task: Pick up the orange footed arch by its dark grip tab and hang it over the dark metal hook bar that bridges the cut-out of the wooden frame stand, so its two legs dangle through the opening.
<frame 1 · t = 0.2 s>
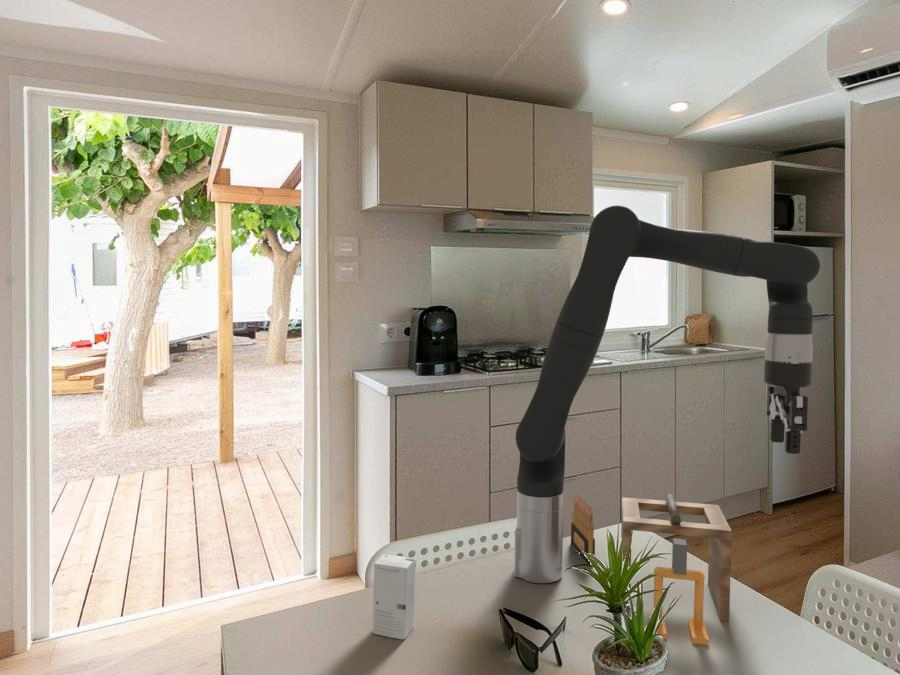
hand: (784, 447, 112), 29 cm above the table, tool pointing down, fingers open, 8 cm apart
skincare box: (394, 632, 103), on the table
orange footed arch: (677, 632, 103), on the table
wooden frame stand: (670, 596, 116), on the table
ammunition clip: (582, 554, 136), on the table
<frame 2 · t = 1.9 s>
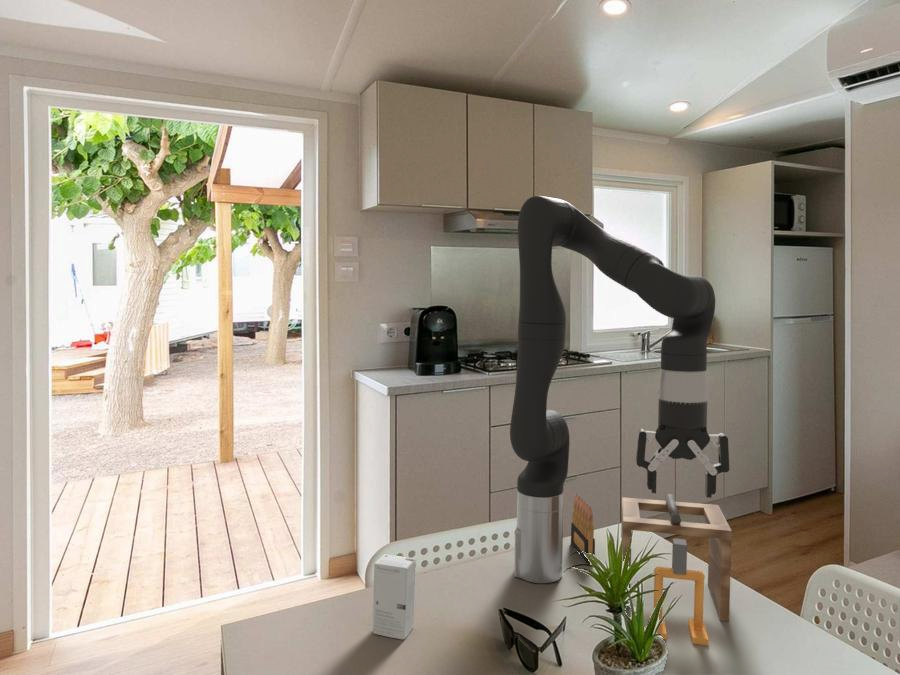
hand: (680, 494, 102), 23 cm above the table, tool pointing down, fingers open, 8 cm apart
nothing on the table moved.
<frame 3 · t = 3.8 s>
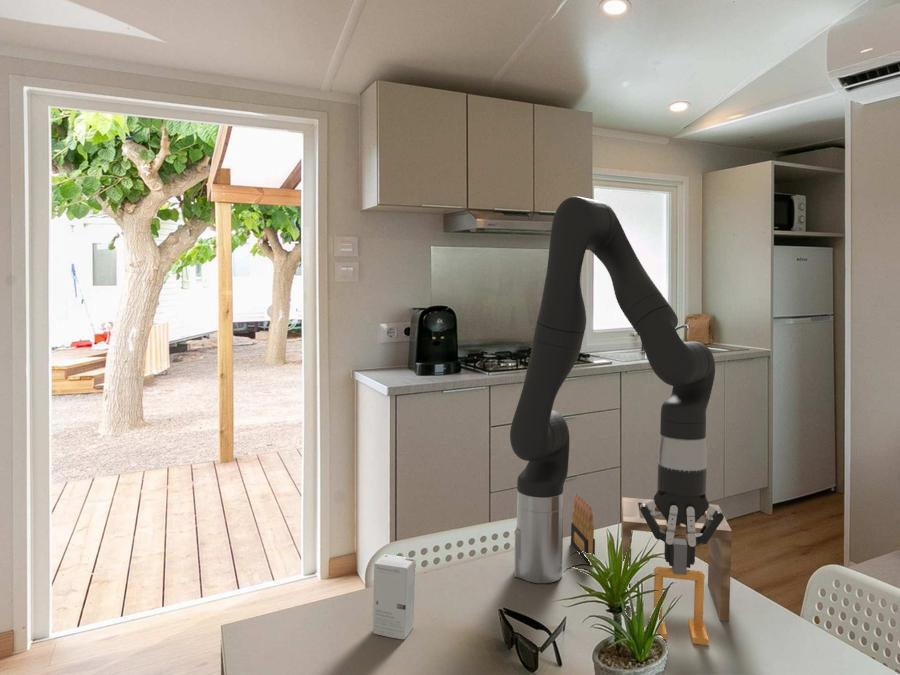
hand: (679, 564, 103), 12 cm above the table, tool pointing down, fingers closed on orange footed arch
orange footed arch: (677, 632, 103), on the table, touching gripper
everything else where it was.
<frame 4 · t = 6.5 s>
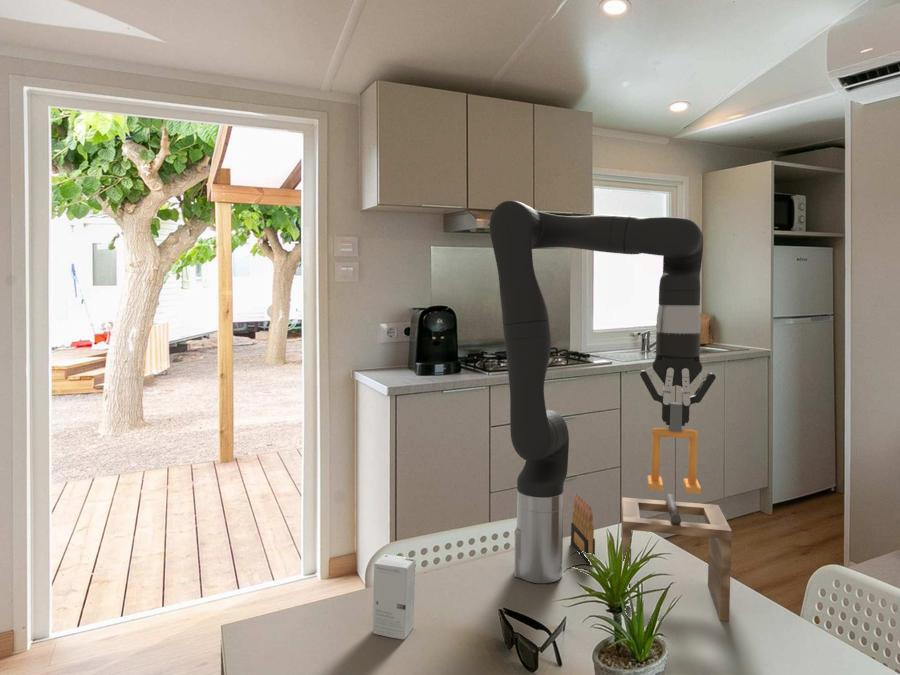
hand: (675, 424, 113), 33 cm above the table, tool pointing down, fingers closed on orange footed arch
orange footed arch: (673, 486, 113), point 21 cm above the table, touching gripper
everything else where it was.
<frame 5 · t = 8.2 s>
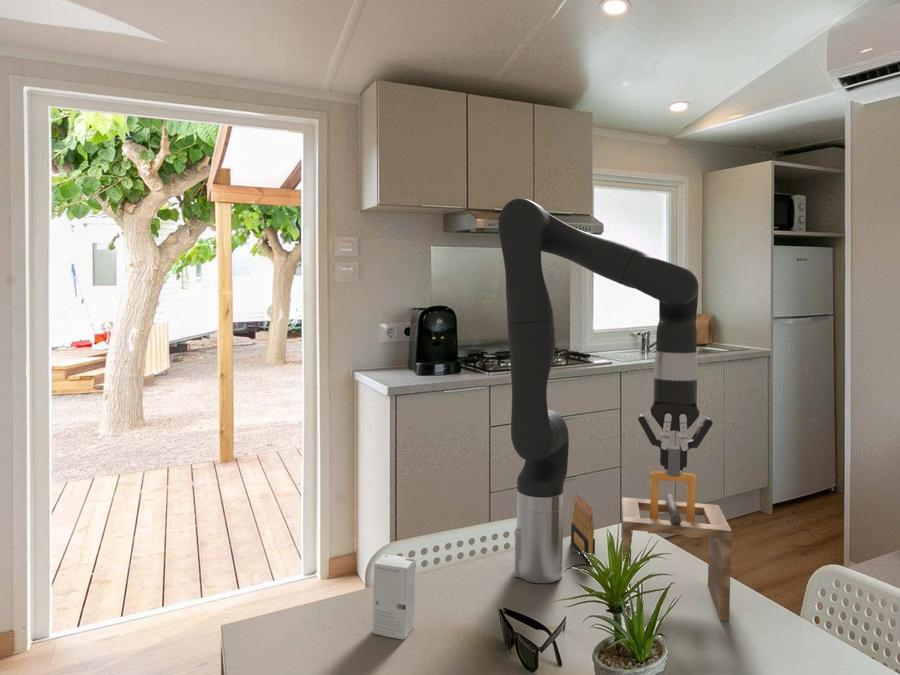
hand: (673, 468, 114), 24 cm above the table, tool pointing down, fingers closed on orange footed arch
orange footed arch: (671, 529, 115), point 13 cm above the table, touching gripper
everything else where it was.
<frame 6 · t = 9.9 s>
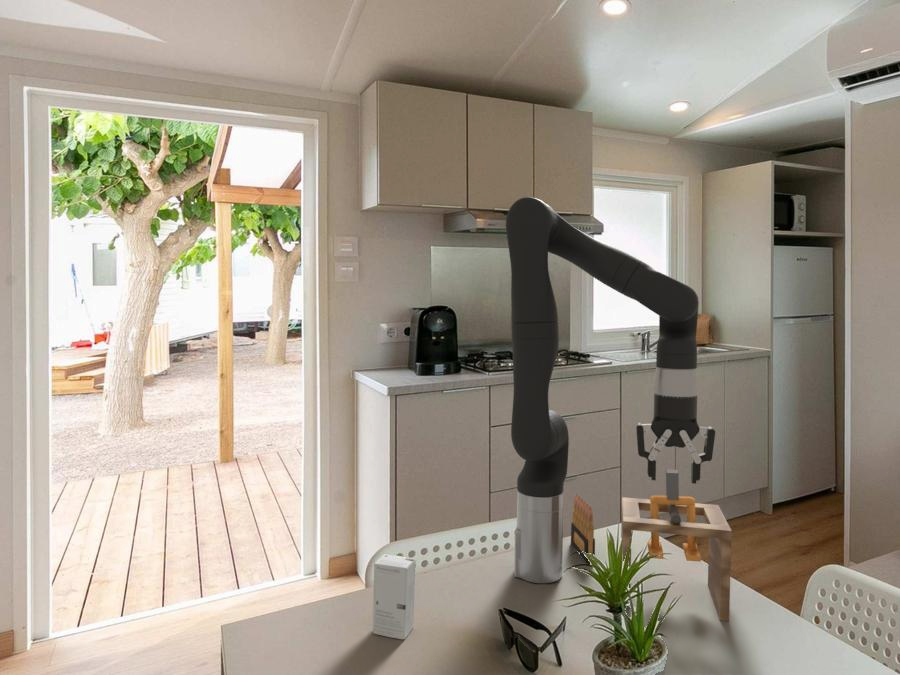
hand: (673, 480, 114), 22 cm above the table, tool pointing down, fingers open, 6 cm apart
orange footed arch: (673, 553, 115), point 8 cm above the table, touching wooden frame stand
everything else where it was.
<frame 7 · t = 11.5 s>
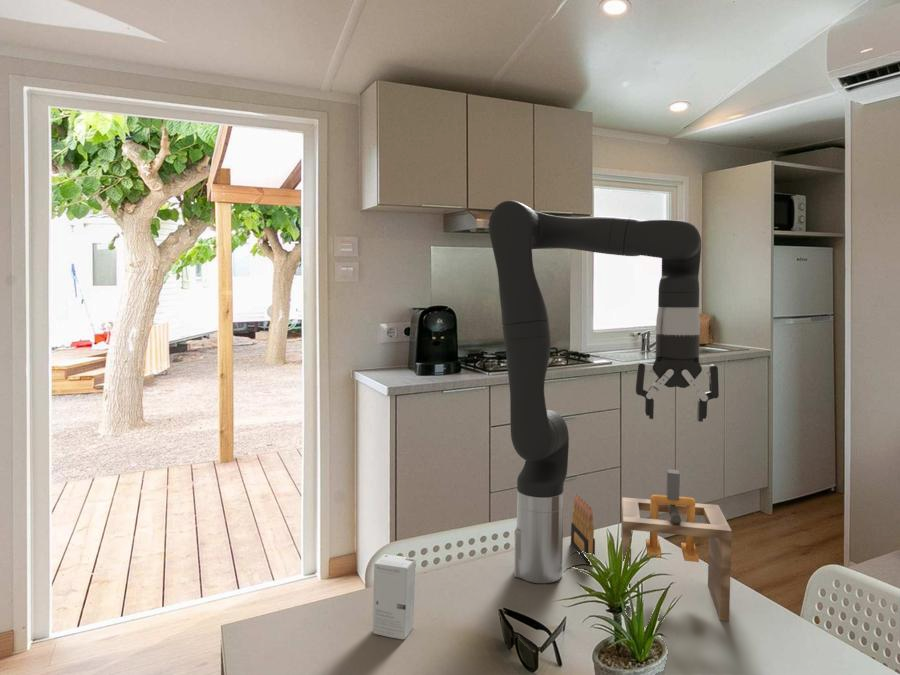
hand: (675, 419, 114), 34 cm above the table, tool pointing down, fingers open, 8 cm apart
nothing on the table moved.
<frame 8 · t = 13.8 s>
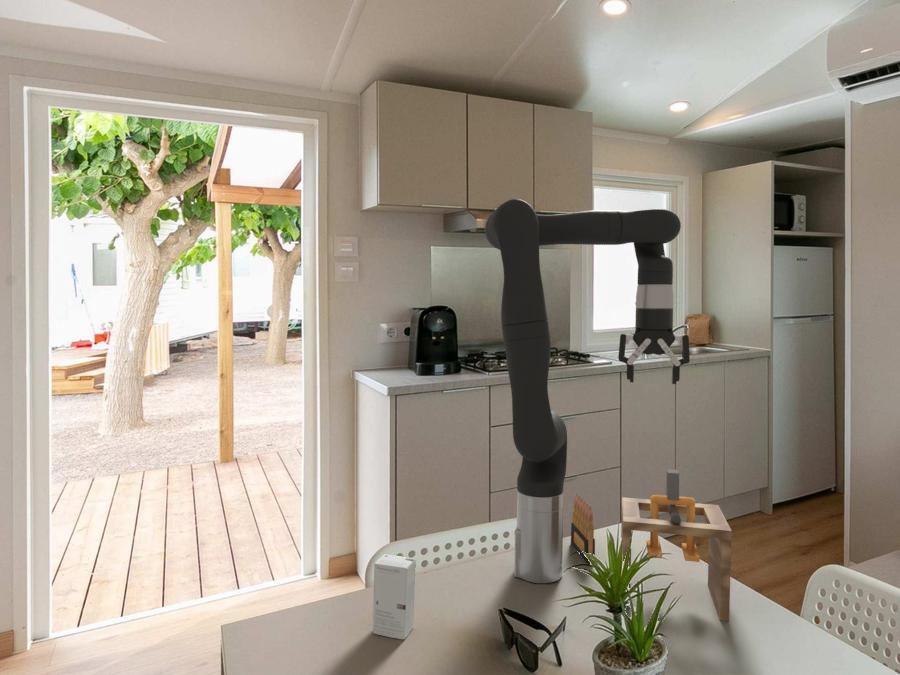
hand: (652, 382, 131), 38 cm above the table, tool pointing down, fingers open, 8 cm apart
nothing on the table moved.
at the end: orange footed arch 0.2 cm off-centre on the wooden frame stand, point 8.4 cm above the wooden frame stand's base; orange footed arch touching wooden frame stand; the gripper is holding nothing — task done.
